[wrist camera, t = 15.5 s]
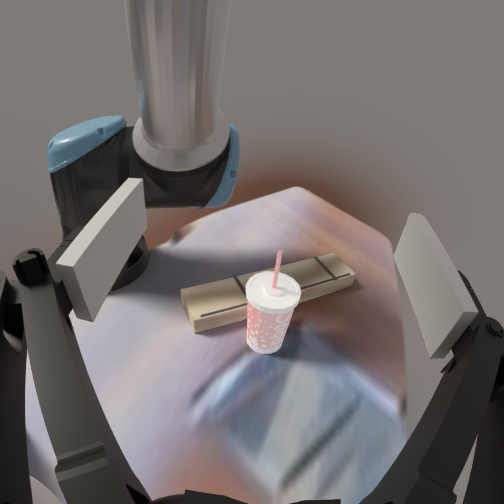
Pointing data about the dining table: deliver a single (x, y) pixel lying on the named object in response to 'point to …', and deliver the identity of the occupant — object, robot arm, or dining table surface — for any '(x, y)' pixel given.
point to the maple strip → (234, 290)
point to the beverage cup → (270, 308)
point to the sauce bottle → (42, 493)
